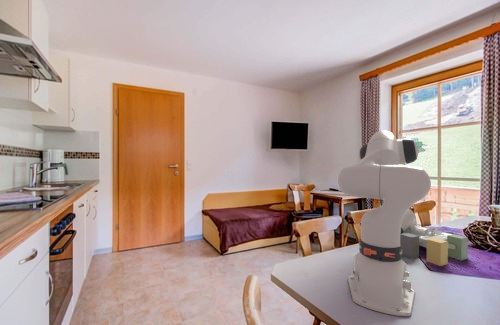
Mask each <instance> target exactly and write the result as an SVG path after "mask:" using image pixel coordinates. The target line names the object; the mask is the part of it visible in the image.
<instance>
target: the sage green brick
mask: <svg viewBox="0 0 500 325" xmlns="http://www.w3.org/2000/svg"><path fill="white" fill-rule="evenodd" d="M451 234H452V233H451ZM468 237H469V236H468ZM468 237H467V236H464V235H458V234H454V233H453V234H452V235H447V241H448V243H449V244H455V245H456V246H457V249H450V248H448V258H451V259H454V258H455V259H454V260H458V261H465V260H468V259H467V258H468V255H469V254H468V253H469V252H468V251H469V250H468V249H469V248H468V246H469V243H468V240H469V239H468Z"/></svg>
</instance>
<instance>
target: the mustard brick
mask: <svg viewBox="0 0 500 325" xmlns="http://www.w3.org/2000/svg"><path fill="white" fill-rule="evenodd" d="M448 259H449V257H448V241H445V240H441V239H437V238H430V239H427V248H426V262H427V263H429V264H430V263H431V264H433V265H436V266H439V267H443V266H446V265H448V262H449V261H448Z"/></svg>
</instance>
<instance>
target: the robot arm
mask: <svg viewBox="0 0 500 325" xmlns="http://www.w3.org/2000/svg"><path fill="white" fill-rule="evenodd" d="M419 151H420V150H419V146H418V145H417V143H416V141H415V140H414V139H412V138H405V137H404V138H402V139H397V137H396V136H395V135H394V133H393V132H391V131H388V130H380V131H377V132H375V133H374V134H373V135H372V136H371V137H370V139H369V140H368V143H366V144H363V145H362V146H361V147H360V148H359V154H358V158H359V161H357V162H355V163H352V164H349V165H346V166H344V167H343V168H341V170H340V171H339V174H338V177H337V185H338V187H339V189H340V191H341V193H343V194H345V195H347V196H352V197H355V198H361V199H365V198H366V199H378V200H379V204H380V205H379V206H378V207H375V208H373V209H370V210H368V211H366V212H364V213H363V215H362V217H361V220H360V239H359V242H358V246H359V248H358V249H359V252H357V253H356V254H355V255H354V269H353V271H352V273H353V275H348V276H347V282H348V286H349V291H350V294H351V298H352V301H353V302H354V304H355V303H356V304H357V305H359V306H361V307H364V308H365V309H369V310H372V311H376V312H378V313H379V312H380V313H382V314H387V315H392V316H398V317H410V316H412V312H413V307H414V301H415V297H416V291H415V289H414V288H412V282H411V281H410V280H408V278H409V277H410V272H409V271H408V268H407V267H408V266H407V265H408V264H407V263H406V262H405V261H404V260H403V256H402V246H401V244H400V234H404V233H409V234H413V235H417V236H419V247H423V248H425V249H427V239H430V238H437V239H441V240H445V241H447V235H452V233H449V232H445V231H440V230H439V229H437V228H428V227H424V226H419V225H417V217H416V214H415V212H414V211H413V210H412V209H411V207H412V206H413V205H415V204H416V203H417V202H419V201H422V200H424V199H425V197H426V196H428V194H429V192H430V190H431V183H432V182H431V179H430V175H429V174H428V173H427V171H426V170H425V169H424V168H422V167H418V166H414V165H413V166H412V165H408V164H411V163H414V162H415V161H416V160H417V159H418V156H419V153H420V152H419ZM448 248H450V249H457V246H456V245H455V244H449V243H448Z"/></svg>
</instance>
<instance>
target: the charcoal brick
mask: <svg viewBox="0 0 500 325" xmlns="http://www.w3.org/2000/svg"><path fill="white" fill-rule="evenodd" d="M400 244H401V246H402V257H404V258H407V259H411V260H414V259H417V258H420V246H419V236H417V235H413V234H409V233H404V234H400Z"/></svg>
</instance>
